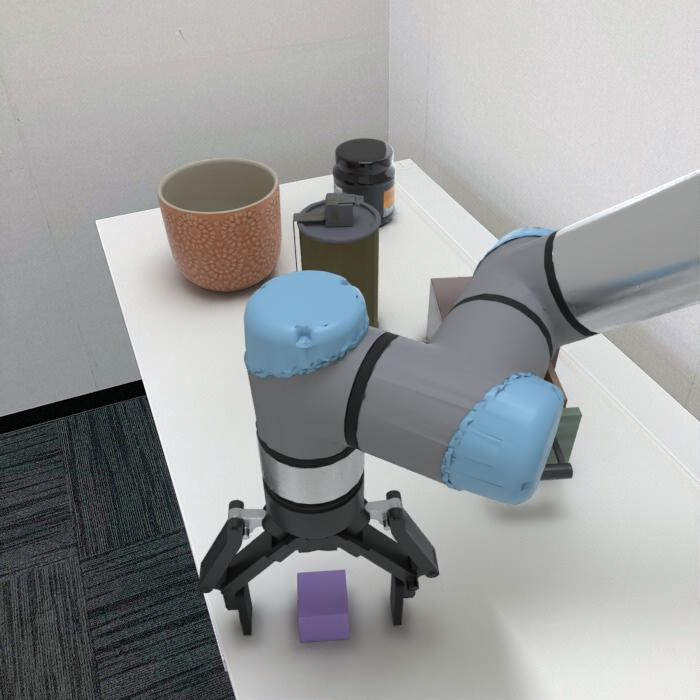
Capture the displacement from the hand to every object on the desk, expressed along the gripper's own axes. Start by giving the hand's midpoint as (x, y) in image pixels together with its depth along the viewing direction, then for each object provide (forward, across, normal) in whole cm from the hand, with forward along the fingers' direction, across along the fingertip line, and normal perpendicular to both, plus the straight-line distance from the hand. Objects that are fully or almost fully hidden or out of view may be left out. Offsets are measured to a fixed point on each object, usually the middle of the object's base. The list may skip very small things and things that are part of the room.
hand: (322, 616), depth 65 cm
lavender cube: (0, 0, 0) cm, 0 cm away
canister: (0, -4, -43) cm, 43 cm away
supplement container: (0, -10, -74) cm, 75 cm away
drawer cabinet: (0, -22, -33) cm, 40 cm away
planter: (+1, +12, -58) cm, 59 cm away
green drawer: (-1, -22, -20) cm, 30 cm away
